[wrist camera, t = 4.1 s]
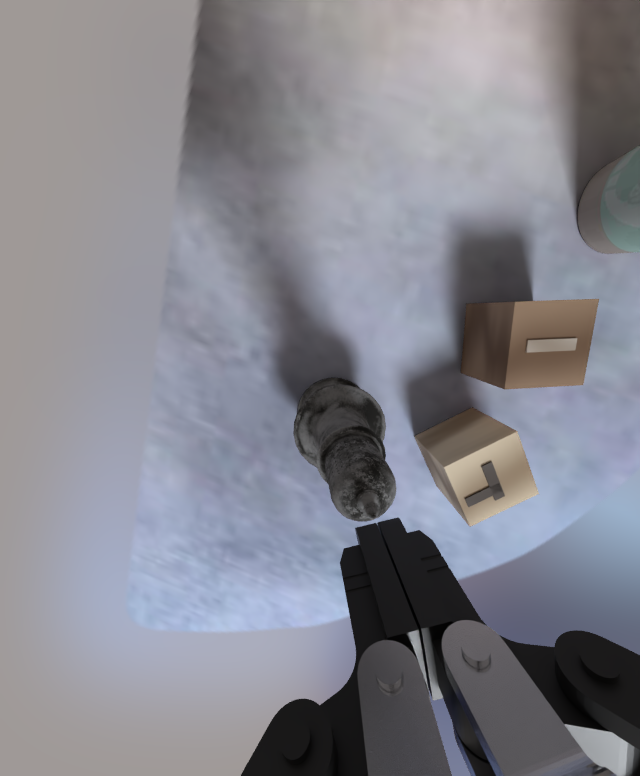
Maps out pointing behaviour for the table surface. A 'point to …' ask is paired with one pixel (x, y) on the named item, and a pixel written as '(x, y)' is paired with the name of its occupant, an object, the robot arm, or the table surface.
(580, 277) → the table surface
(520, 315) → the walnut block digit
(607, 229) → the coffee cup
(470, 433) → the beech block digit
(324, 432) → the black chess piece
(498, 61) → the table surface
